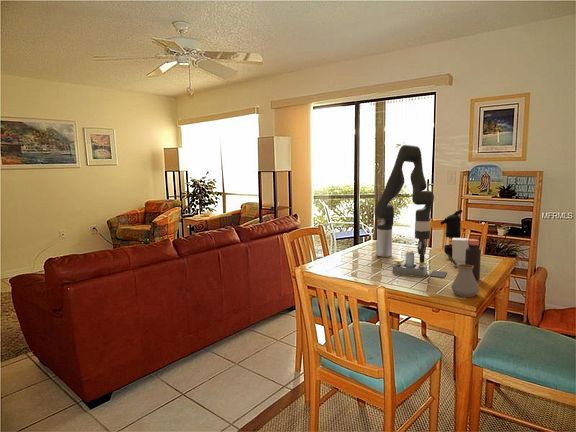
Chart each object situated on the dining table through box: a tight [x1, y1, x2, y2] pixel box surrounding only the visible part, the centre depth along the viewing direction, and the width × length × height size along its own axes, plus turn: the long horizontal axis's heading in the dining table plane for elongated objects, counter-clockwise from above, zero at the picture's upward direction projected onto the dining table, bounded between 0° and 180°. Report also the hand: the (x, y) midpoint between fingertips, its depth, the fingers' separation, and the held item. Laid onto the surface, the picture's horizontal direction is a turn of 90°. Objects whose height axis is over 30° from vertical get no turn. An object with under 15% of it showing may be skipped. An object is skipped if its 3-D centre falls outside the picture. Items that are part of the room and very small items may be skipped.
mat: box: [429, 270, 448, 279], centre depth 196 cm, size 7×10×1 cm
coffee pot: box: [444, 253, 480, 298], centre depth 171 cm, size 21×12×15 cm, turn 7°
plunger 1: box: [393, 258, 404, 265], centre depth 203 cm, size 4×4×5 cm
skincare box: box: [451, 237, 469, 268], centre depth 211 cm, size 8×7×16 cm
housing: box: [391, 261, 428, 278], centre depth 201 cm, size 16×10×4 cm, turn 60°
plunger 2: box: [415, 259, 427, 268], centre depth 197 cm, size 4×4×5 cm
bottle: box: [465, 238, 482, 282], centre depth 186 cm, size 7×7×20 cm
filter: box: [440, 209, 463, 257], centre depth 226 cm, size 14×9×30 cm
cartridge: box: [405, 250, 415, 268], centre depth 200 cm, size 4×4×12 cm
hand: (421, 261), depth 197 cm, fingers closed
